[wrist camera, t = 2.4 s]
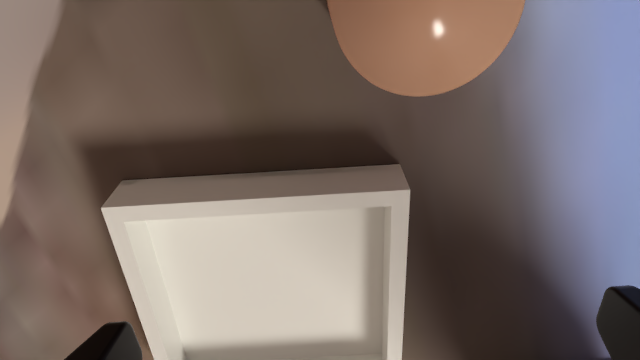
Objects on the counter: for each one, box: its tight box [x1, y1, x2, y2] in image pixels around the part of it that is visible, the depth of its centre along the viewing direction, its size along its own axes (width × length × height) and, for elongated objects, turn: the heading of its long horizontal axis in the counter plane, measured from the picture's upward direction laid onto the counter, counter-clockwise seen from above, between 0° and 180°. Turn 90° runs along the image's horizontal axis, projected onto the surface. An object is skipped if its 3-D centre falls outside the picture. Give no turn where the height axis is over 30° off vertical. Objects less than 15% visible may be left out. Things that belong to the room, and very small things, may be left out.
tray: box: [101, 164, 410, 360], centre depth 23 cm, size 14×14×2 cm
